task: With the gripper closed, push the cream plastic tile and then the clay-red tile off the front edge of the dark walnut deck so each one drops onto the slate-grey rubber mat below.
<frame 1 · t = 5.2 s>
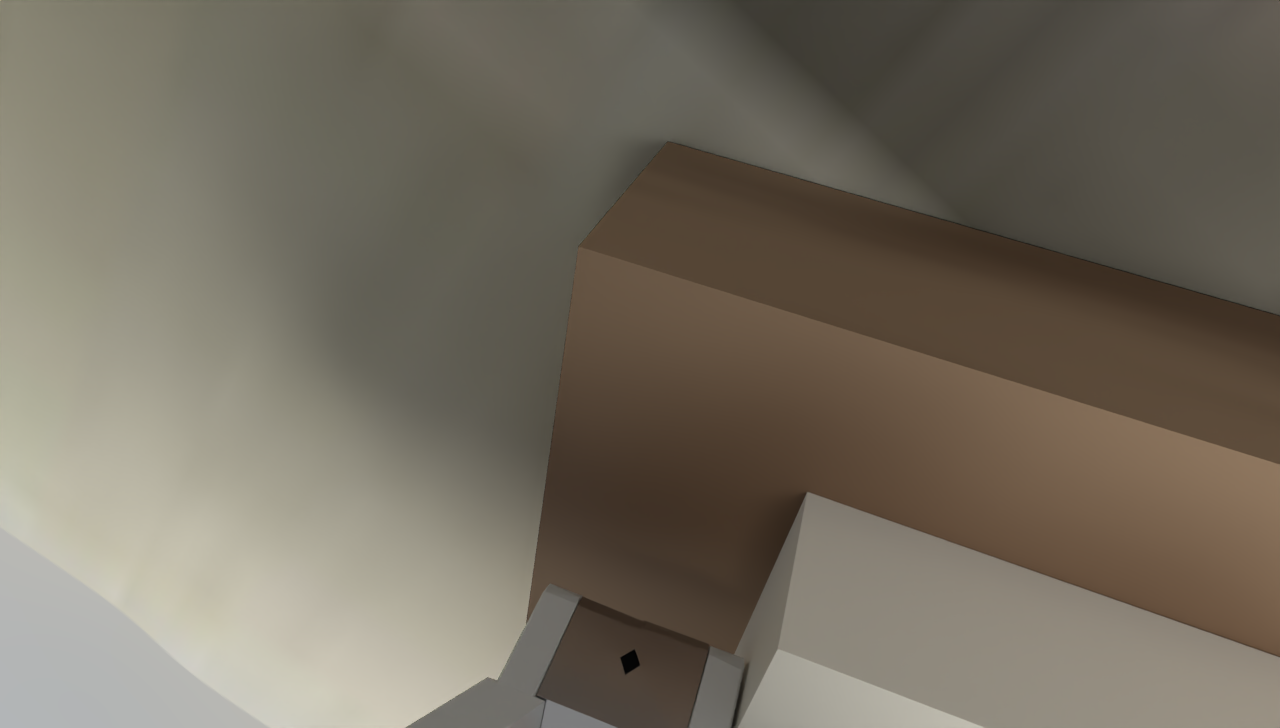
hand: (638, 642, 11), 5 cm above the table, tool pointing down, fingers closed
deck: (884, 636, 17), on the table
cream tile: (1021, 702, 11), point 4 cm above the table, touching gripper
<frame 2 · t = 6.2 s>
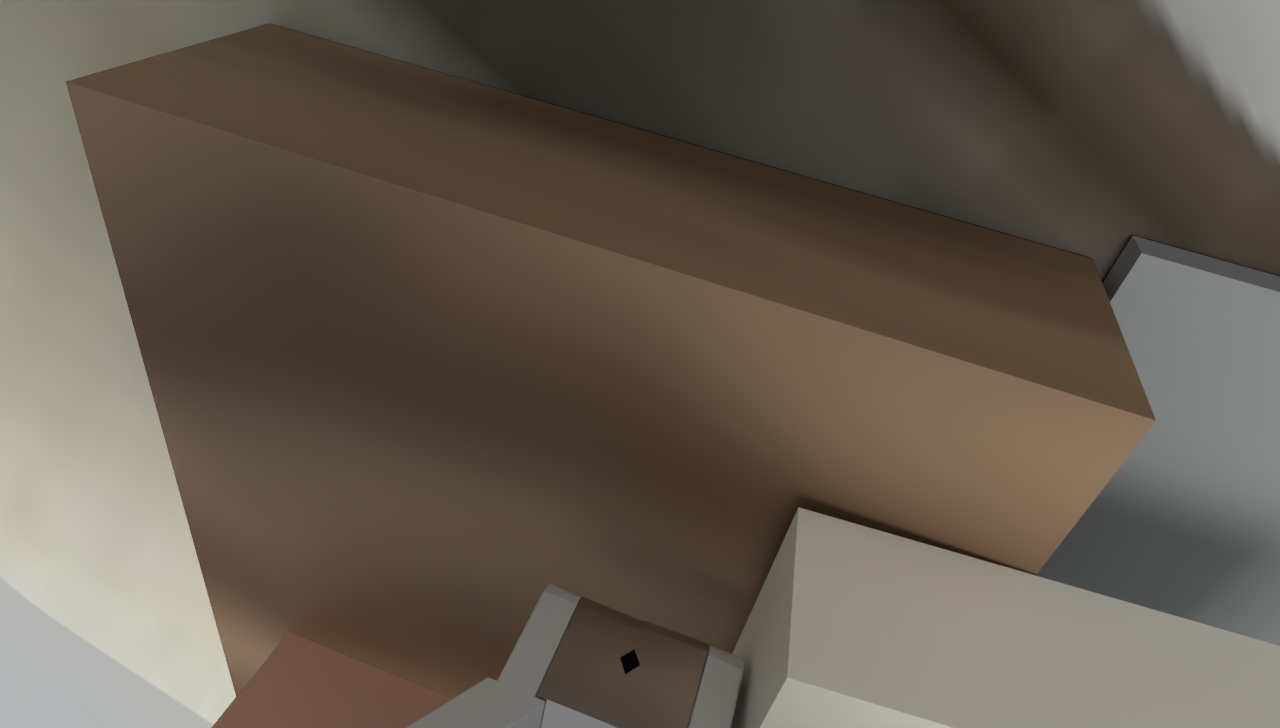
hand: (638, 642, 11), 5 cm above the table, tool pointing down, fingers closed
deck: (577, 520, 18), on the table
cream tile: (1012, 697, 11), point 4 cm above the table
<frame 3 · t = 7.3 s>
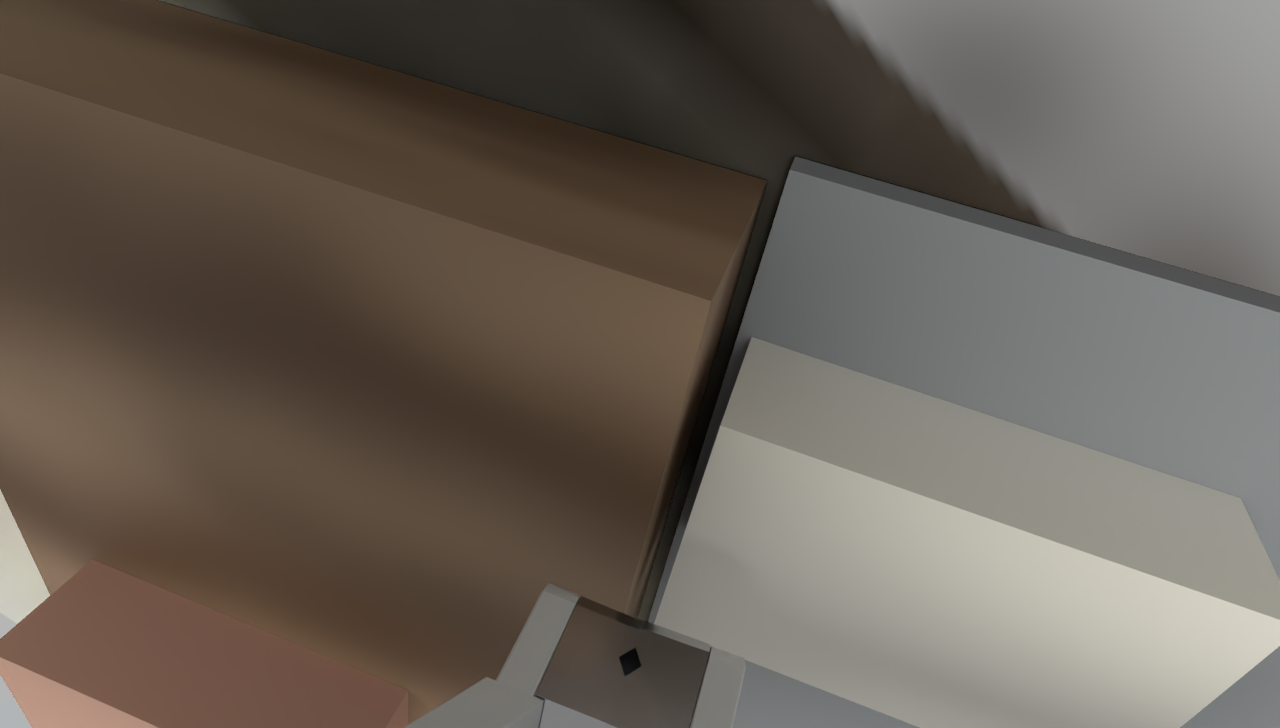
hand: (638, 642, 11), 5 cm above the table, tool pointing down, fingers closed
mat: (923, 658, 17), on the table
clay tile: (258, 683, 18), point 4 cm above the table, touching deck
deck: (384, 458, 19), on the table
cream tile: (924, 515, 14), point 1 cm above the table, touching mat
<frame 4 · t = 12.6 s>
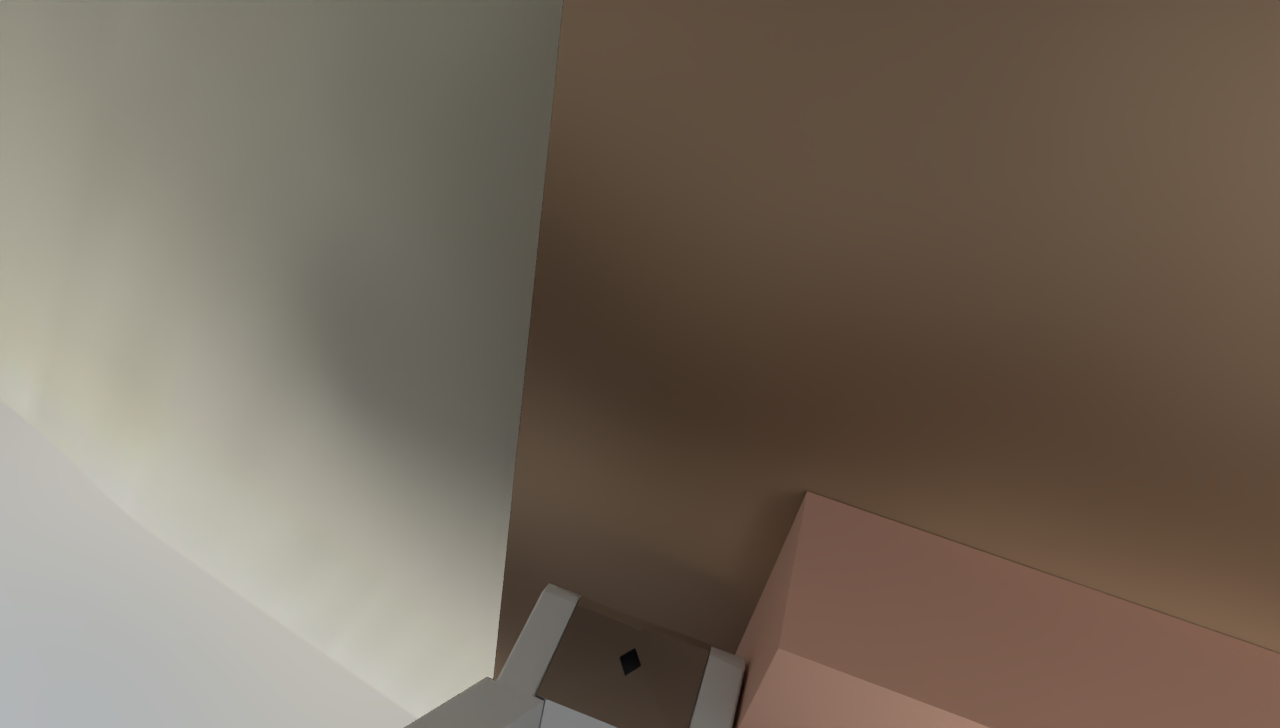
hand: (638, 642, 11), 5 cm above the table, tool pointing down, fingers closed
clay tile: (1023, 701, 11), point 4 cm above the table, touching gripper
deck: (1063, 287, 12), on the table
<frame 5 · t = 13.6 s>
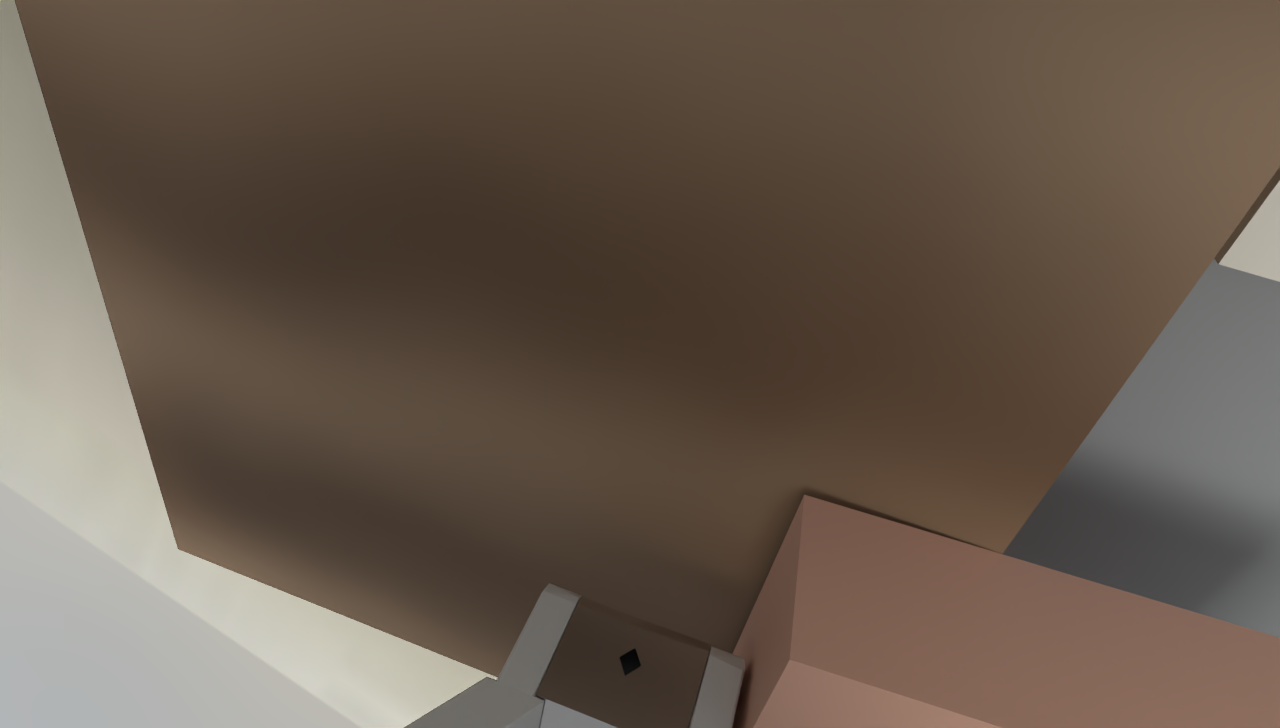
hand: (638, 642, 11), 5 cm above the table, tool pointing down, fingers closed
clay tile: (1017, 690, 11), point 4 cm above the table
deck: (615, 153, 13), on the table
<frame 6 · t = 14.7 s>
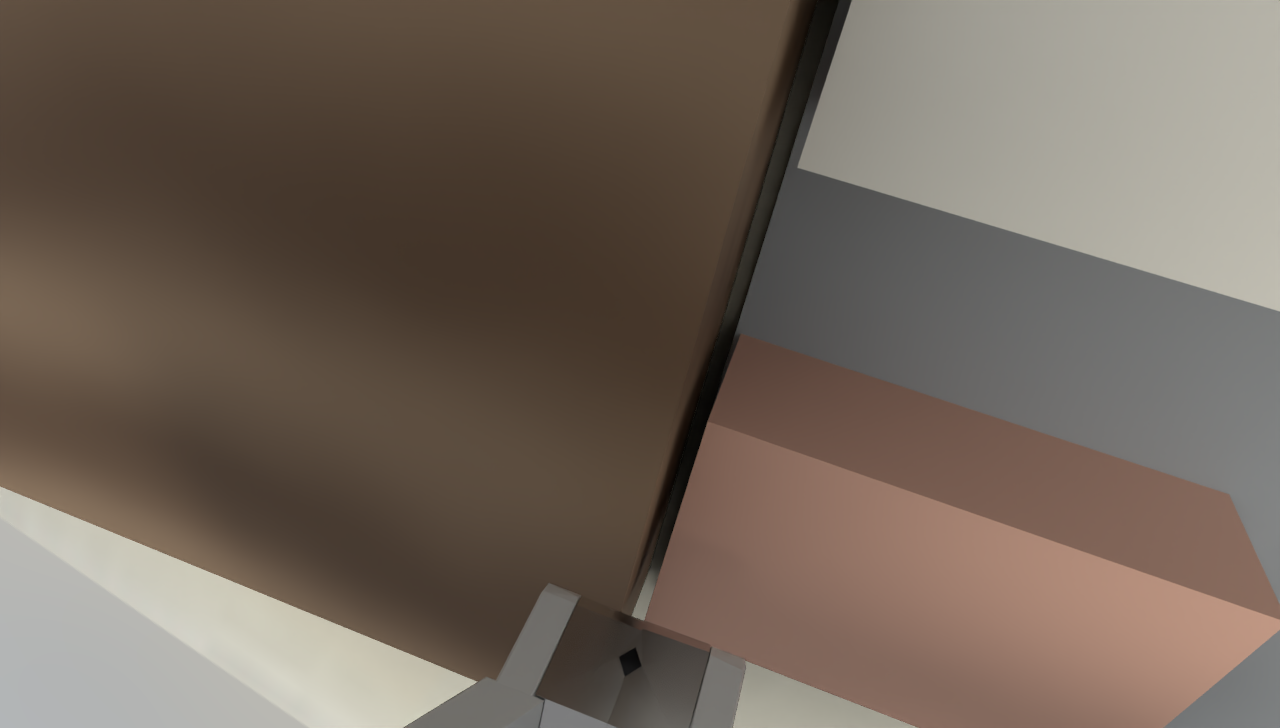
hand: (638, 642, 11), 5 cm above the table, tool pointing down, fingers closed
mat: (1155, 331, 12), on the table
clay tile: (914, 512, 14), point 1 cm above the table, touching mat
deck: (370, 93, 13), on the table
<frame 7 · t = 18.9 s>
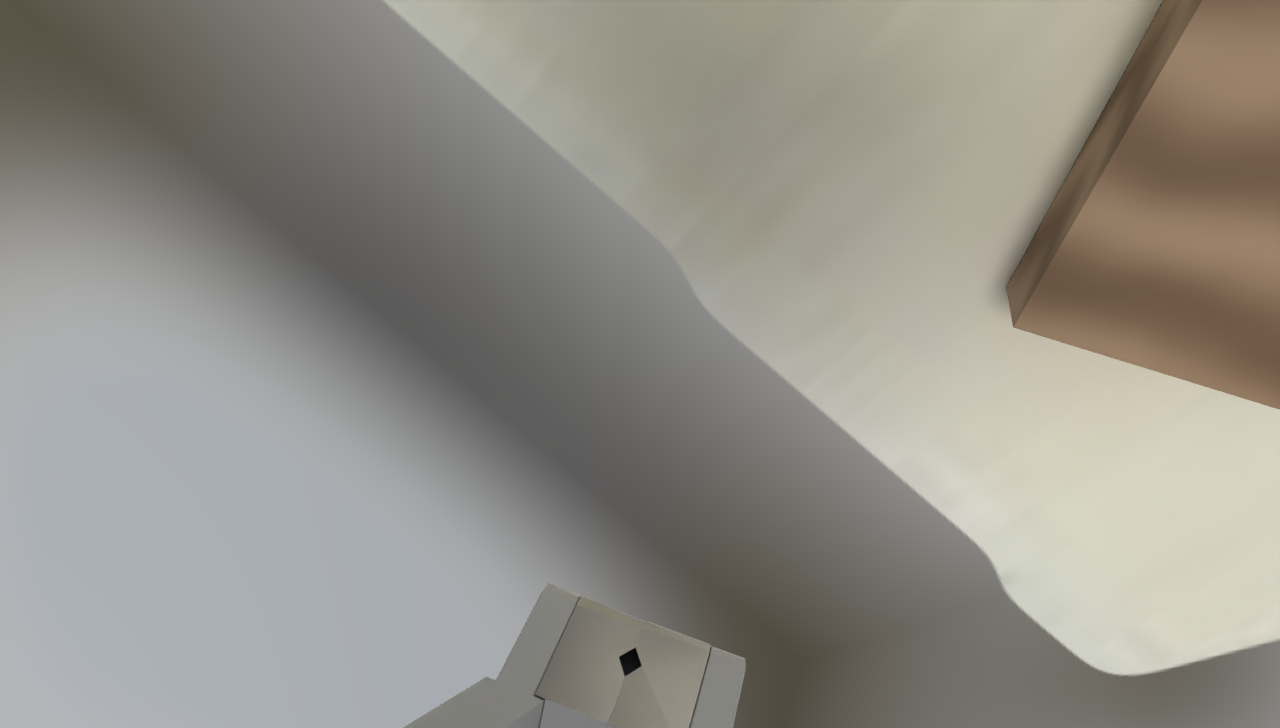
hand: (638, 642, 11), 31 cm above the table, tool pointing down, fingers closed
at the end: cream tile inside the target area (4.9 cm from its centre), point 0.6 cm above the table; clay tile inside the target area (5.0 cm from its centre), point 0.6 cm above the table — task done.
